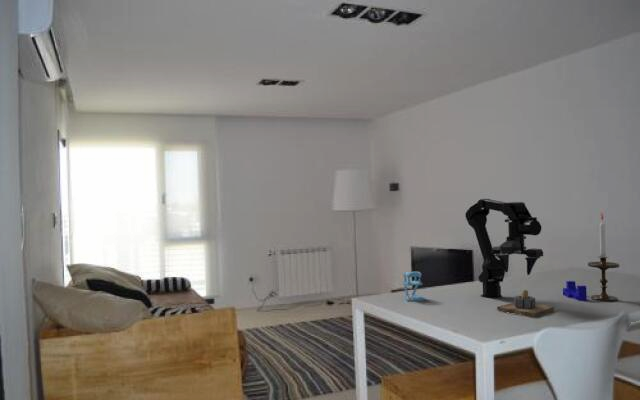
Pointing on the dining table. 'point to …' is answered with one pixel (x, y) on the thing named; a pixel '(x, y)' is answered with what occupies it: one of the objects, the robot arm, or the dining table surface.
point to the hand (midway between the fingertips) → (517, 273)
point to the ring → (524, 302)
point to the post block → (527, 312)
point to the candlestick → (603, 267)
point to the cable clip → (575, 291)
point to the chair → (410, 283)
